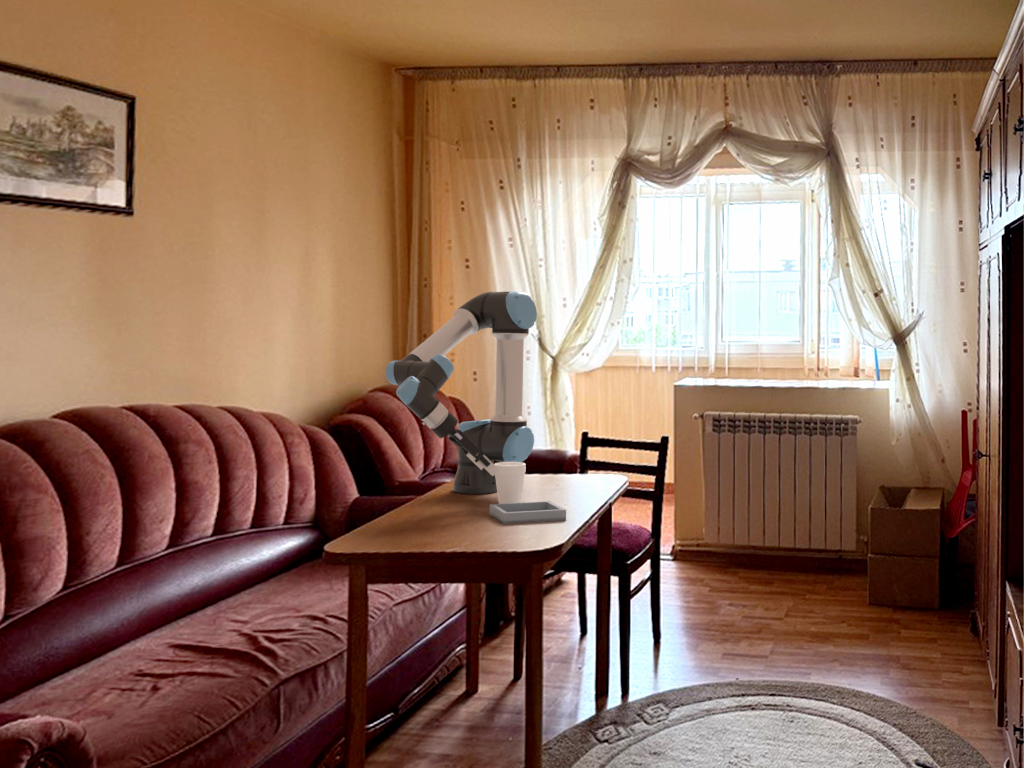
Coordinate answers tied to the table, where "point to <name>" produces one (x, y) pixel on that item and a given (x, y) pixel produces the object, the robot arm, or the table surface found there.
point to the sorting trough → (527, 512)
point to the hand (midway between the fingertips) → (489, 469)
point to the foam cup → (510, 481)
